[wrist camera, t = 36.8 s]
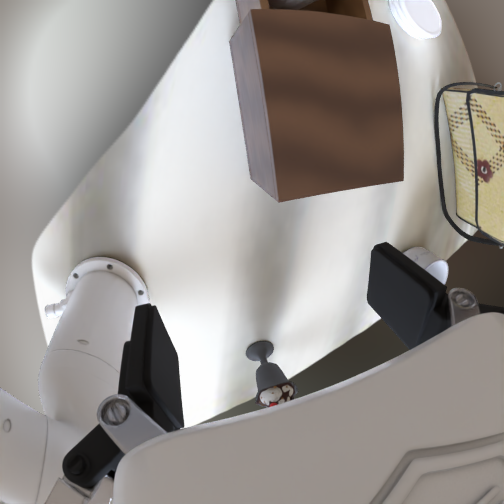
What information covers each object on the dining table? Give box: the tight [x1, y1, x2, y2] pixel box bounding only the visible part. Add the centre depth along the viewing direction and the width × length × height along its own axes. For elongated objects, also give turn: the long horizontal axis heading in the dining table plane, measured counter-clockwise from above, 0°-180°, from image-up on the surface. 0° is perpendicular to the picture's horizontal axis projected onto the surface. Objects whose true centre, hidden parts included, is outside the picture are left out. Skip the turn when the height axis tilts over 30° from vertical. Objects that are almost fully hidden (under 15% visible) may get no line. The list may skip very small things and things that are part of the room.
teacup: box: [403, 247, 448, 285], centre depth 43 cm, size 14×11×8 cm
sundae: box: [246, 341, 298, 407], centre depth 40 cm, size 7×7×15 cm
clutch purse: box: [435, 82, 504, 247], centre depth 32 cm, size 30×7×15 cm, turn 22°
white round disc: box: [388, 0, 442, 39], centre depth 24 cm, size 10×10×4 cm
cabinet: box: [229, 9, 404, 202], centre depth 26 cm, size 18×15×11 cm
